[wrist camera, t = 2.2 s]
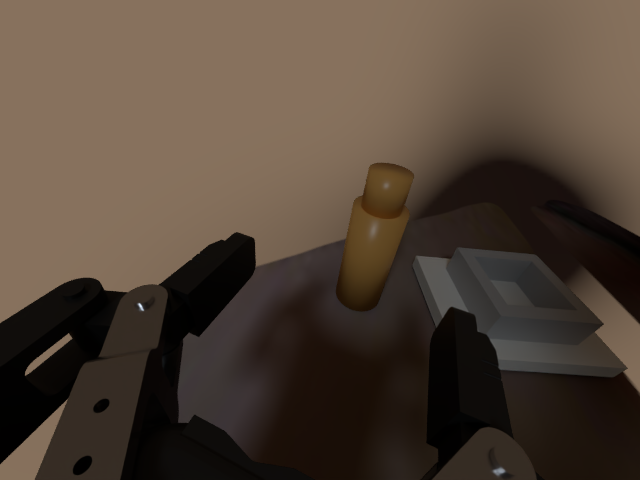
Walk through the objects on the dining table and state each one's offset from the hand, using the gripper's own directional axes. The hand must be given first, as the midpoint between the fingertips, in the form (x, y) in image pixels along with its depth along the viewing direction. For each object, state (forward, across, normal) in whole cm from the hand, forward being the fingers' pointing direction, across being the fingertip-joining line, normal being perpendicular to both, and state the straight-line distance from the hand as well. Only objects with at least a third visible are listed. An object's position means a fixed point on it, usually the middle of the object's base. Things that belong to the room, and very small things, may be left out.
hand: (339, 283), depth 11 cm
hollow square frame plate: (+15, -14, +12) cm, 24 cm away
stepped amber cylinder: (+12, 0, +12) cm, 17 cm away
